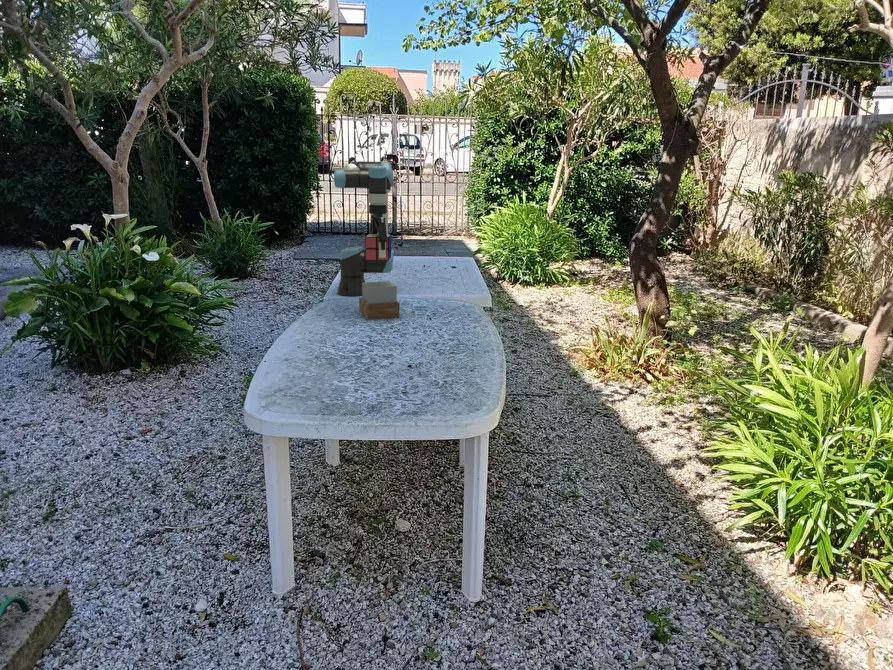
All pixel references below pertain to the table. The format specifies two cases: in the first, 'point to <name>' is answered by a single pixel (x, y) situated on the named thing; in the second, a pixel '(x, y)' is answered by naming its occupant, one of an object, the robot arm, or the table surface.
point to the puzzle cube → (376, 248)
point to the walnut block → (378, 310)
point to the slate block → (379, 292)
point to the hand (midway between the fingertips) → (378, 255)
